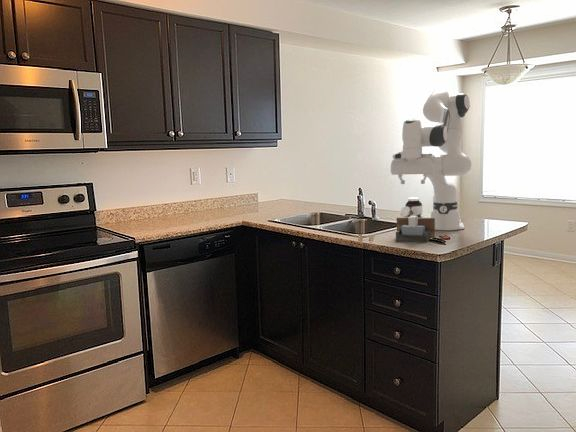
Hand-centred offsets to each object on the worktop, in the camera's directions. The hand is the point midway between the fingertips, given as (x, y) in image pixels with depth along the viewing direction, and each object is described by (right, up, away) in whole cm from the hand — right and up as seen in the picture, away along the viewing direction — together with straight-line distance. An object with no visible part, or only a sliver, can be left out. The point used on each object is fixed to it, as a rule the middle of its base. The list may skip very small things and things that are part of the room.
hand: (412, 183), depth 220 cm
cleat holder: (+1, -27, +4) cm, 27 cm away
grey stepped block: (+1, -27, +4) cm, 27 cm away
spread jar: (+18, -16, +72) cm, 76 cm away
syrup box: (+31, -18, +56) cm, 67 cm away
